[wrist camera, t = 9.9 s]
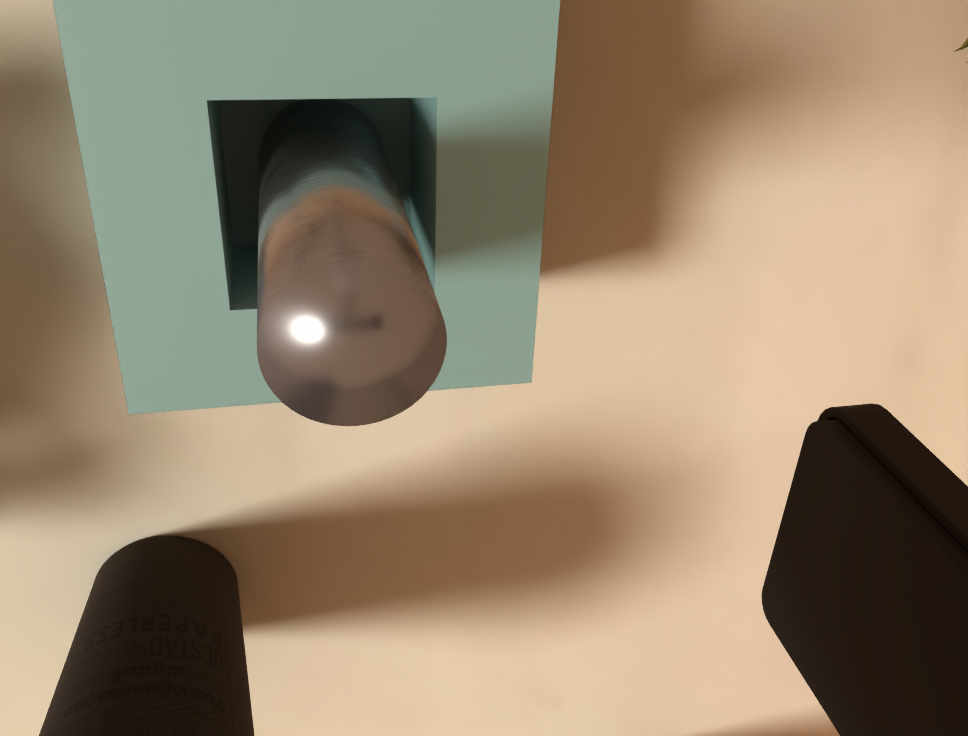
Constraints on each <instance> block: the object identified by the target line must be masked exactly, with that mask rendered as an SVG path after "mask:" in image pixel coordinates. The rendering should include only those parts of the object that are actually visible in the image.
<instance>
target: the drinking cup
mask: <svg viewBox="0 0 968 736" xmlns="http://www.w3.org/2000/svg"><path fill="white" fill-rule="evenodd" d="M39 736H254V728H253V719H252V710H251V701H250V692H249V683H248V674H247V665H246V655H245V646H244V637H243V628H242V619H241V610H240V601H239V591H238V582H237V577H236V574H235V571H234V569H233V567H232V566H231V564H230V563H229V562H228V560H227V559H226V558H225V557H224V556H223V555H222V554H221V553H219V552H218V551H217V550H215V549H214V548H212V547H210V546H208V545H206V544H204V543H202V542H199V541H196V540H193V539H188V538H182V537H173V536H165V537H154V538H148V539H144V540H140V541H137V542H135V543H132V544H130V545H128V546H125V547H124V548H122V549H120V550H119V551H117V552H116V553H114V554H113V555H112V556H111V557H110V558H109V559H108V560H107V561H106V562H105V563H104V564H103V565H102V567H101V568H100V570H99V572H98V574H97V576H96V578H95V581H94V584H93V587H92V589H91V592H90V595H89V598H88V601H87V603H86V606H85V609H84V612H83V615H82V617H81V620H80V623H79V626H78V628H77V631H76V634H75V637H74V640H73V642H72V645H71V648H70V651H69V654H68V656H67V659H66V662H65V665H64V668H63V670H62V673H61V676H60V679H59V681H58V684H57V687H56V690H55V693H54V695H53V698H52V701H51V704H50V707H49V709H48V712H47V715H46V718H45V721H44V723H43V726H42V729H41V732H40V734H39Z"/></svg>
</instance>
